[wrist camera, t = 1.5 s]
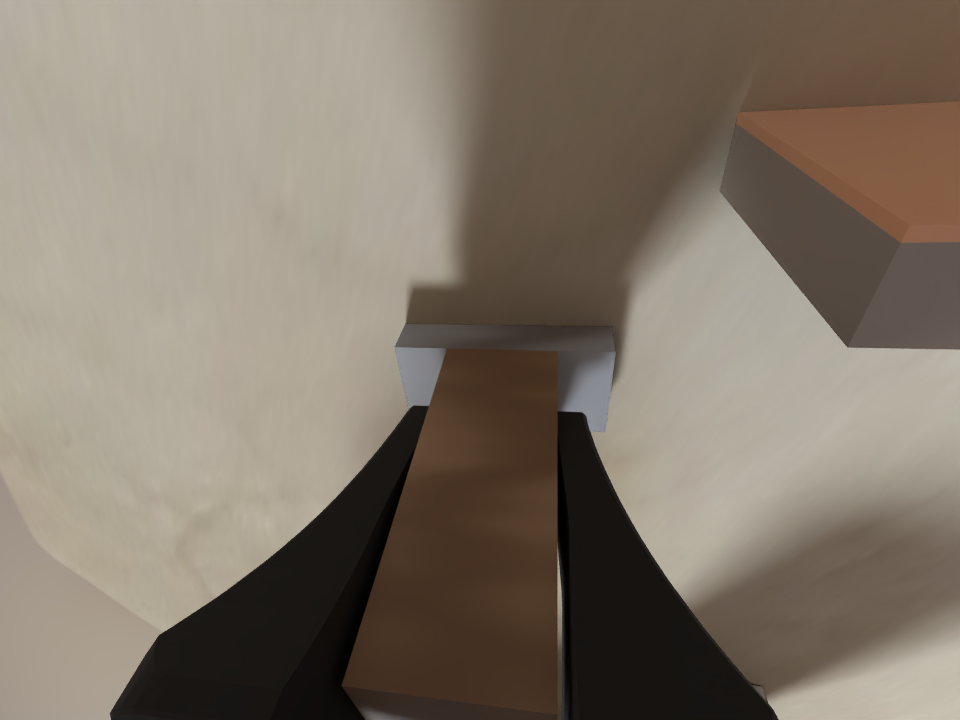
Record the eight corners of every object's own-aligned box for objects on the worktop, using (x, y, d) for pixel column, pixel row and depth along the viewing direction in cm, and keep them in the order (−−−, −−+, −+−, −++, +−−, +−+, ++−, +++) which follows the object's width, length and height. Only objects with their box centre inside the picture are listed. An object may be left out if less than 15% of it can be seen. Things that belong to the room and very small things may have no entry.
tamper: (611, 326, 13) (677, 731, 6) (602, 404, 15) (643, 785, 8) (405, 323, 14) (244, 672, 7) (420, 397, 16) (305, 734, 9)
